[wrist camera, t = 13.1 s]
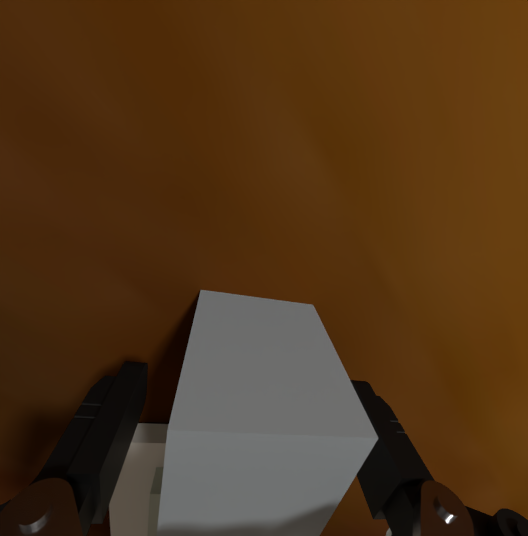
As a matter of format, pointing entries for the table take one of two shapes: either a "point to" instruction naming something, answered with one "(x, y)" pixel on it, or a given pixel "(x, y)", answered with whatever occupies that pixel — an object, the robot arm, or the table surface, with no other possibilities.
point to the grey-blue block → (260, 424)
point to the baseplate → (140, 484)
